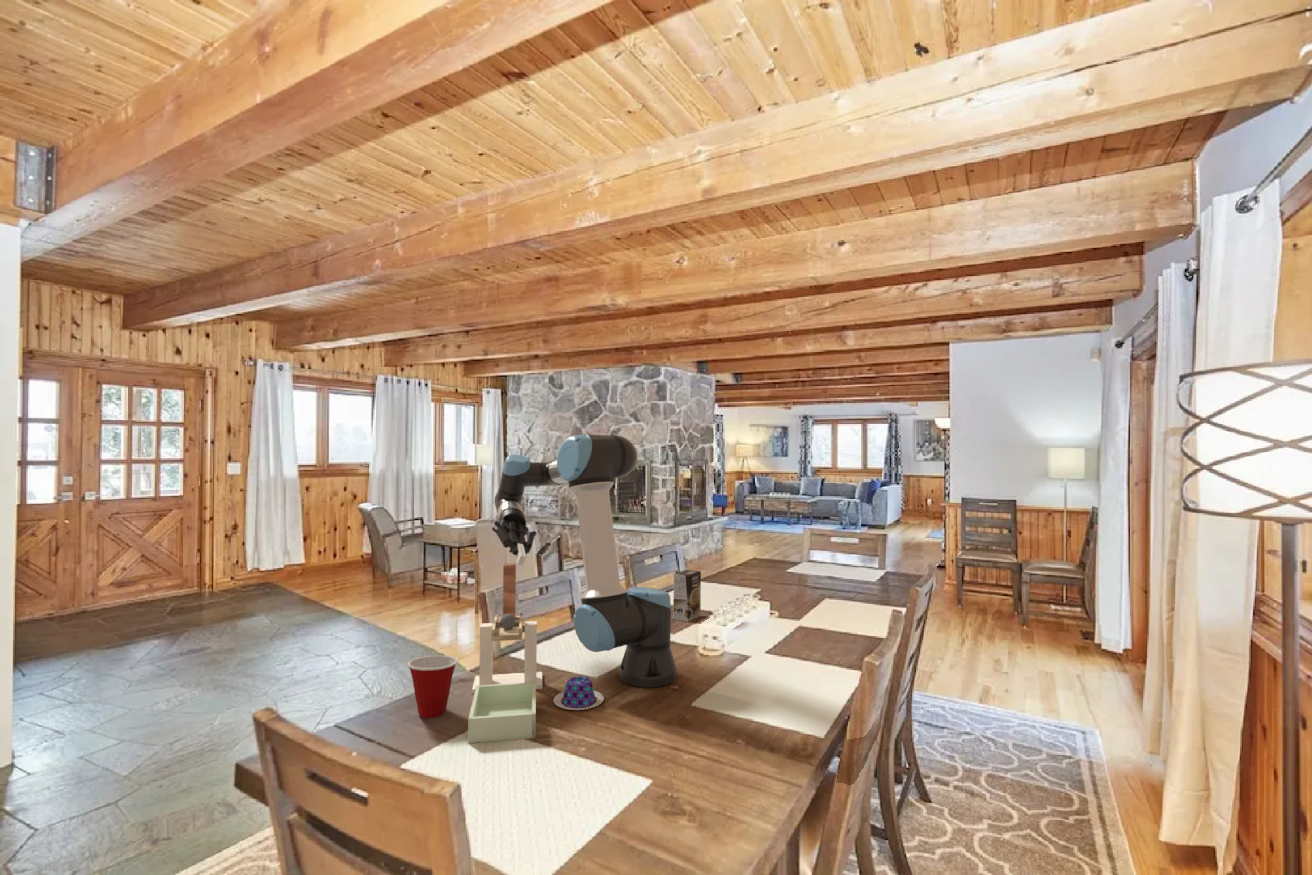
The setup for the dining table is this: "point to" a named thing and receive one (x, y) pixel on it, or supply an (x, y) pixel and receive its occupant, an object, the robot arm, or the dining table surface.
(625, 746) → the dining table surface
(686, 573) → the coffee box
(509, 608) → the lever
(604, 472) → the robot arm
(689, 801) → the dining table surface
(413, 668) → the plastic cup
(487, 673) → the stand
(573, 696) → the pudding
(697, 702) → the dining table surface
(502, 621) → the ball
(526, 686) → the tray
